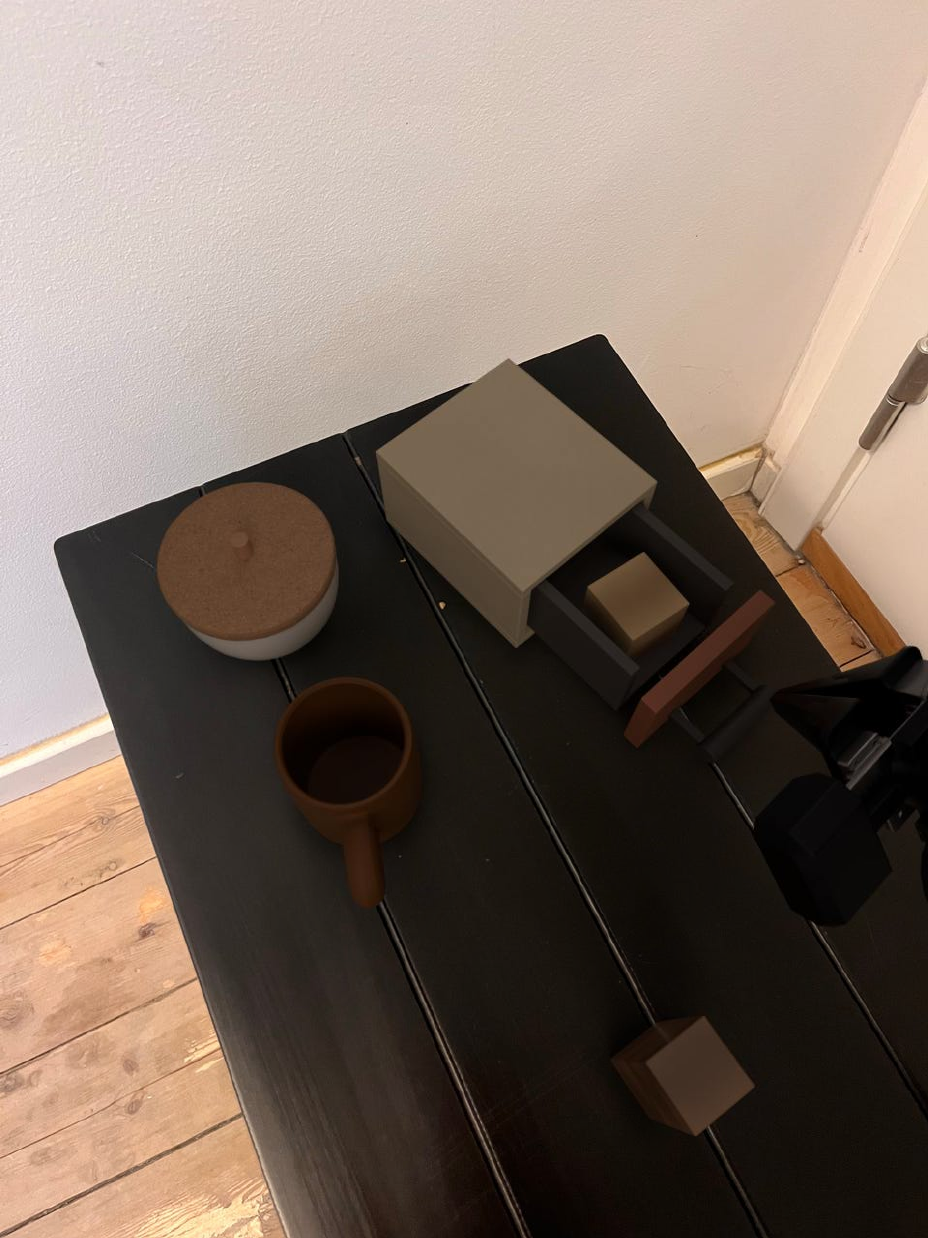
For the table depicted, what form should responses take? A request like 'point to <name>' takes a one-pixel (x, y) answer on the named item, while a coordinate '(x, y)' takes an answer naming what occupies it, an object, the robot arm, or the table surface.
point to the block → (635, 606)
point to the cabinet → (505, 491)
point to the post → (683, 1073)
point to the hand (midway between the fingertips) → (776, 700)
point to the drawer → (622, 677)
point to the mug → (351, 772)
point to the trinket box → (251, 570)
